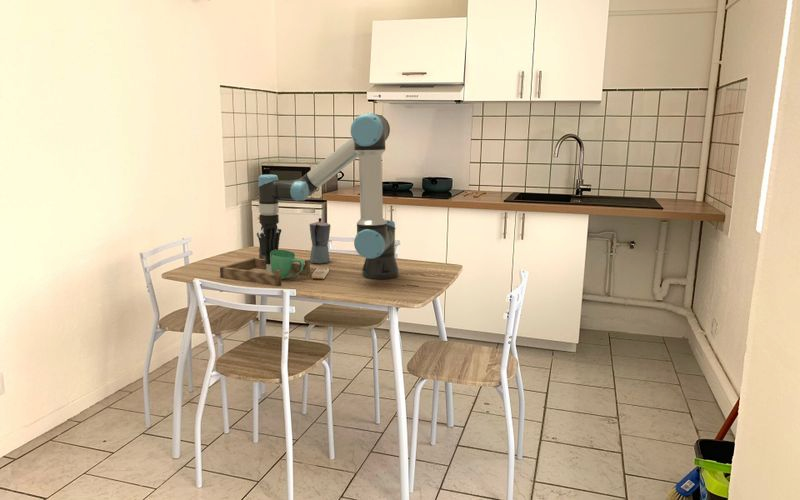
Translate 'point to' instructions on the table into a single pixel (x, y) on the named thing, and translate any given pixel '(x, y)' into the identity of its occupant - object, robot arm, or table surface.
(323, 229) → the moka pot
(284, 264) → the mug
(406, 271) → the table surface
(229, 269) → the bay
